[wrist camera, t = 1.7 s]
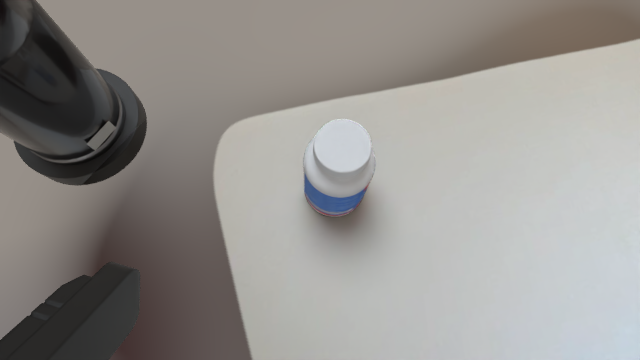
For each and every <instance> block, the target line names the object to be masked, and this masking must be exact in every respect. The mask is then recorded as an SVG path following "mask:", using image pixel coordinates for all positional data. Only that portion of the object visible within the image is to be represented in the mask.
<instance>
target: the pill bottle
mask: <svg viewBox="0 0 640 360" xmlns="http://www.w3.org/2000/svg"><path fill="white" fill-rule="evenodd" d="M303 164H304V192H305V196H306V198H307V201H308V202H309V204H310V205H311V206H312V207H313V208H314V209H315V210H316V211H317V212H319V213H321V214H323V215H326V216H332V217H338V216H343V215H346V214H348V213H350V212H351V211H353V210H354V209H355V208H356V207H357V206H358V205H359V204H360V202H361V200H362V198H363V196H364V194H365V192H366V190H367V187H368V185H369V183H370V181H371V179H372V177H373V174H374V171H375V164H376V161H375V154H374V151H373V148H372V141H371V138H370V136H369V134H368V132H367V131H366V130H365V128H364V127H362V126H361V125H360V124H358V123H357V122H355V121H352V120H348V119H336V120H333V121H330V122H328V123H326V124H325V125H323V126H322V127H321V128H320V129H319V131H318V132H317V134H316V136H315V137H314V138H313V139H312V140H311V141H310V143H309V144H308V146H307V148H306V150H305V154H304V163H303Z"/></svg>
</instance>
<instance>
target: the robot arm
mask: <svg viewBox="0 0 640 360" xmlns="http://www.w3.org/2000/svg"><path fill="white" fill-rule="evenodd" d="M124 121H125V108H124V104H123V101H122V99H121V97H120V95H119V94H118V93H117V92H116V90H115V89H114V88H113V87H112V86H111V85H110V84H109V83H108V82H107V81H105V79H104V78H103V77H102V76H101V75H100V74H99V72H98V71H97V70H96V69H95V68H94V66H93V65H92V64H91V63H90V62H89V61H88V60H87V59H86V57H85V56H84V55H83V54H82V53H81V52H80V50H79V49H78V48H77V47H76V46H75V45H74V44H73V42H72V41H71V40H70V39H69V38H68V37H67V35H65V33H64V32H63V31H62V30H61V29H60V27H59V26H58V25H57V24H56V23H55V22H54V21H53V19H52V18H51V17H50V16H49V15H48V14H47V13H46V11H45V10H44V9H43V8H42V7H41V6H40V4H39V3H38V2H37V1H36V0H0V133H2V134H4V135H6V136H7V137H9V138H11V139H12V140H14V141H15V142H17V143H19V144H20V145H22V146H24V147H26V148H27V149H29V150H30V151H32V152H33V153H34V154H36V155H37V156H39V157H41V158H42V159H44V160H46V161H48V162H51V163H54V164H58V165H77V164H82V163H85V162H88V161H91V160H93V159H95V158H97V157H99V156H100V155H102V154H103V153H104V152H106V151H107V150H108V149H109V148H110V147H111V146H112V145H113V144H114V143H115V141H116V140H117V139H118V137H119V135H120V133H121V131H122V129H123V126H124ZM139 298H140V272H139V270H137V269H134V268H130V267H127V266H124V265H120V264H118V263H114V262H109V263H107V264H106V265H104V266H103V267H102V268H101V269H100V270H99V271H98V272H97V273H96V274H95V275H94V276H93V277H89V276H86V275H82V276H80V277H78V278H76V279H74V280H72V281H70V282H68V283H66V284H64V285H62V286H61V287H60V288H58V289H57V290H56V291H55V292H54V293H53V294H52V295H51V296H50V297H48V298H47V299H46V300H45V302H44V303H42V304H40V305H39V306H38V307H37V308H36V309H35V310H34V311H32V313H31V315H30V316H27V317H26V318H25V319H24V320H22V321H21V322H20V323H19V324H18V325H17V326H16V327H15V328H13V329H12V330H11V331H10V332H9V333H8V334H7V335H5V336H4V337H3V338H2V339H1V340H0V360H109V359H110V357H111V356H112V355H113V354H114V352H115V351H116V350H117V348H118V347H119V346H120V345H121V343H122V342H123V341H124V340H125V338H126V337H127V336H128V334H129V333H130V332H131V330H132V329H133V326H134V325H135V322H136V320H137V317H138V314H139V300H140V299H139Z"/></svg>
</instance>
